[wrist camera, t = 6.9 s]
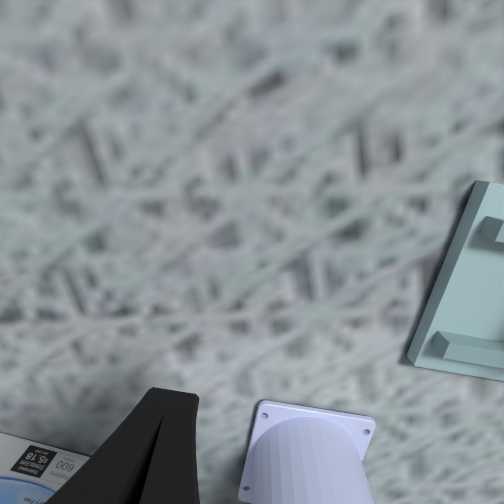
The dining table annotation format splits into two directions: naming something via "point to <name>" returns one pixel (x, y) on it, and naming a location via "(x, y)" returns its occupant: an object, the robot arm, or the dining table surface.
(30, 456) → the light bulb box
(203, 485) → the dining table surface
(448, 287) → the board
